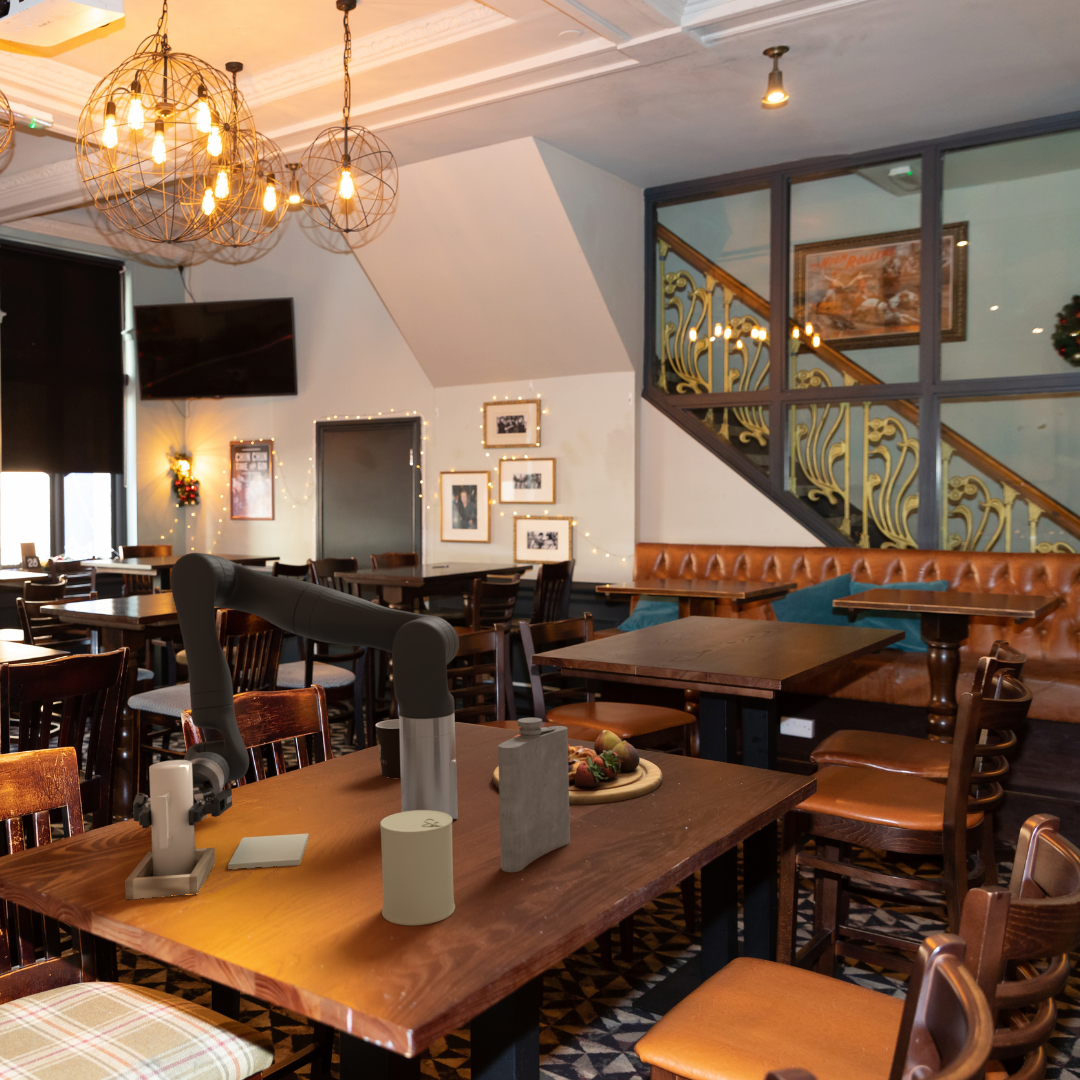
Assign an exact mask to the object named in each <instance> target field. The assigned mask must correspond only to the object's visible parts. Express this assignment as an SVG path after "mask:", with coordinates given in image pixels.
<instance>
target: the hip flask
mask: <svg viewBox="0 0 1080 1080" xmlns="http://www.w3.org/2000/svg"><path fill="white" fill-rule="evenodd" d="M541 726H543V719H542V718H539V717H523V718H518V719H517V727H519V731H518V732H519V735H520V736H517V735H516V736H517V737H514V736H513V737H511V738H510V739H508V740H505V741H503V742H501V743H499V744H498V745H497V750H498V751H497V752H498V755H497V756H498V757H497V759H498V766H499V789H498V792H499V827H500V828H499V831H500V832H499V833H500V838H499V839H500V870H501V871H503V872H506V873H517V872H521V871H523V870H524V869H525V868H526V867H527V866H528V865H530V864H531V863H532V862H534V861H536V860H537V859H539V858H541V857H542V856H544V855H546V854H549V853H550V852H552V851H554V850H556V849H559V848H561V847H564V846H567V845H569V844H570V843H571V828H570V826H571V825H570V820H571V819H570V804H569V774H568V744H569V743H568V742H569V740H568V738H569V736H568V727H567V726H564V725H552V726H544V727H541Z"/></svg>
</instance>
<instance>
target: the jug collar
mask: <svg viewBox="0 0 1080 1080" xmlns="http://www.w3.org/2000/svg"><path fill="white" fill-rule="evenodd" d="M215 850H216V849H215V847H204V848H203V847H201V848H195V868H194V870H193V871H192V873H191V874H185V875H170V876H156V877H153V874H152V873H153V859H152V851H148V852H147V853H146V854H145V856H144V857H142V859H141V860H140V861H139V863H138V864H137V866H136V867H135V868H134V869H133V871H132V872H131V873H130V874H129V875H128V876H127V878H126V879H125V880H124V887H125V888H124V890H125V893H124V894H125V900H126V899H130V900H142V898H144V899H153V898H152V897H158V898H162V897H161V896H171V895H173V897H175V896H174V895H185V894H196V893H198V892H199V893H200V891H201V889H202V888H201V886H202V885H203V886H204V884H205V883H204V882H206V881H207V879H208V877H209V876H210V874H211V872H212V871H213V869H212V868H214V867H215V865H216V858H215V855H216V854H215ZM214 864H215V865H214ZM213 866H214V867H213ZM211 870H212V871H211ZM210 871H211V872H210ZM209 873H210V874H209ZM208 875H209V876H208ZM207 876H208V877H207ZM206 878H207V879H206ZM205 880H206V881H205ZM203 883H204V884H203ZM203 886H202V887H203ZM200 888H201V889H200ZM199 890H200V891H199ZM199 893H198V894H199ZM140 898H141V899H140Z"/></svg>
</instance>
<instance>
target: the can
mask: <svg viewBox="0 0 1080 1080" xmlns="http://www.w3.org/2000/svg"><path fill="white" fill-rule="evenodd" d="M453 820H454V819H452V817H451V816H450V815H449V814H446V813H444V812H440V811H432V810H414V811H405V812H402V811H401V812H396V813H393V814H391V815H388V816H386V817H384V818H383V819H381V821H380V822H379V827H380V839H381V845H380V846H381V869H382V871H381V872H382V909H381V914H382V915H381V916H382V917H383V918H384V919H385V920H386V921H387V922H389V923H393V924H395V925H396V924H397V925H402V926H423V925H429V924H430V925H431V924H434V923H438V922H441V921H443V920H445V919H447V918H449V917H450V916H451V915H452V914H454V913H455V910H456V904H455V897H454V896H455V895H454V872H453V871H454V870H453V867H454V866H453V863H454V862H453Z"/></svg>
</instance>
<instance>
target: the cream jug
mask: <svg viewBox="0 0 1080 1080" xmlns="http://www.w3.org/2000/svg"><path fill="white" fill-rule="evenodd" d="M148 769H149V770H148V771H149V796H150V797H149V798H150V802H151V826H150V827H151V828H150V830H151V850H152V851H151V852H152V859H153V874H152V877H156V876H170V875H185V874H191V873H192V871H193V870H194V868H195V849H196V848H195V847H196V846H195V845H196V844H195V843H196V842H195V840H196V839H195V825H192V826H189V809H190V808H191V807H192V806H193V779H192V762H191V761H187V760H184V759H175V760H165V761H160V762H156V763H153V764H151V765H150V766H149V767H148Z"/></svg>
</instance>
